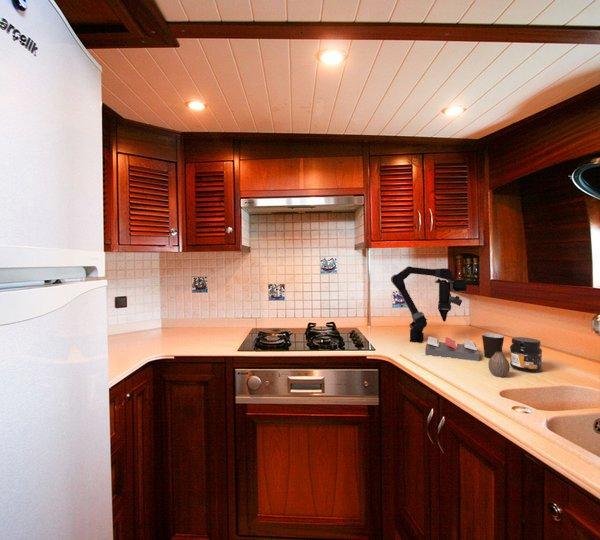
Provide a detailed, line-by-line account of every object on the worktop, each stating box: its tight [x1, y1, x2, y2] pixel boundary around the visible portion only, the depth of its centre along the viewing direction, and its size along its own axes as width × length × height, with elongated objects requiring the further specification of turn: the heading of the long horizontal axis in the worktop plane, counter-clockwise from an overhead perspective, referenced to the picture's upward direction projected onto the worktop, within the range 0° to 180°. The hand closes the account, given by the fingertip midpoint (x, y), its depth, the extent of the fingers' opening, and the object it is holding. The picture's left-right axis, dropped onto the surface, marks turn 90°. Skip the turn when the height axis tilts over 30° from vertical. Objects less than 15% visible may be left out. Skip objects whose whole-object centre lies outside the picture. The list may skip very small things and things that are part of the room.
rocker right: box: [462, 339, 478, 351], centre depth 148 cm, size 5×11×1 cm, turn 156°
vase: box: [488, 352, 511, 378], centre depth 120 cm, size 7×7×9 cm
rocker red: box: [444, 337, 458, 349], centre depth 152 cm, size 5×11×1 cm, turn 156°
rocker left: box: [426, 336, 440, 347], centre depth 155 cm, size 5×11×1 cm, turn 156°
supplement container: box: [509, 336, 543, 374], centre depth 128 cm, size 10×10×12 cm
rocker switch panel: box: [424, 341, 480, 362], centre depth 150 cm, size 22×16×3 cm
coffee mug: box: [481, 332, 505, 360], centre depth 144 cm, size 12×9×10 cm
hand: (444, 320), depth 171 cm, fingers open, 9 cm apart
